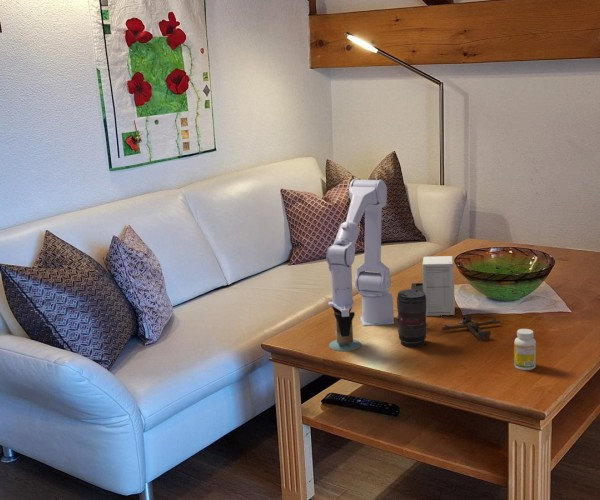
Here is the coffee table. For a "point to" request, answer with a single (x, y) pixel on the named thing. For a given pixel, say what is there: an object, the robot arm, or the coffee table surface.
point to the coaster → (344, 345)
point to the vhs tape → (417, 286)
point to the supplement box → (439, 285)
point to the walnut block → (346, 338)
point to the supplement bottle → (525, 350)
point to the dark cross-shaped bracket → (473, 327)
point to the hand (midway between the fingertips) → (344, 333)
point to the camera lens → (411, 317)
